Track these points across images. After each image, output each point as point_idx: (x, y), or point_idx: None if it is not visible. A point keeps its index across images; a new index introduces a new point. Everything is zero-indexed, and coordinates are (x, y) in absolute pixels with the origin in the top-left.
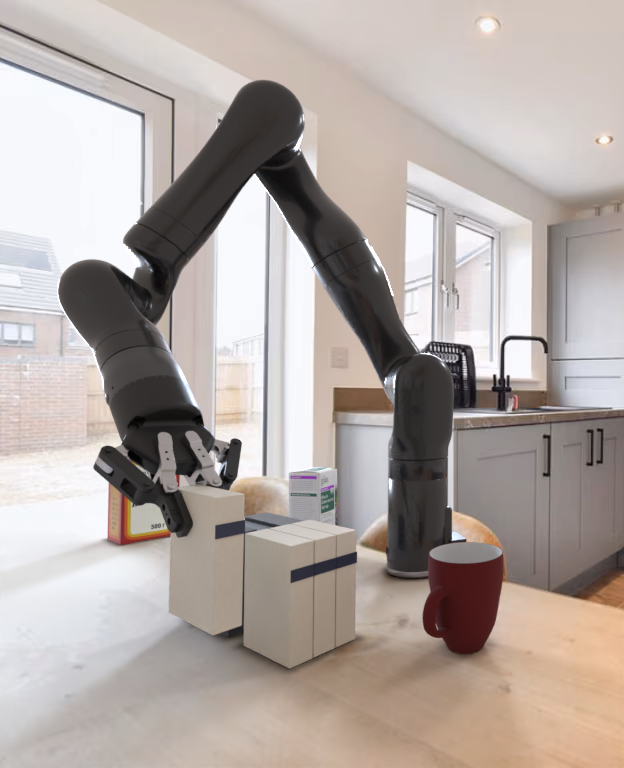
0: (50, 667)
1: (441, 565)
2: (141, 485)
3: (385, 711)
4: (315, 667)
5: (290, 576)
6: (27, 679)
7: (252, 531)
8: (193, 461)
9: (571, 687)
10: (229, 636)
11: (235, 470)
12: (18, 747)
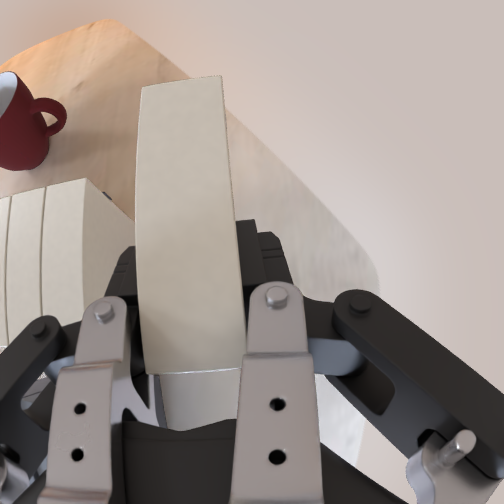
0: (329, 442)
1: (17, 94)
2: (377, 302)
3: None
4: (129, 217)
5: (107, 197)
6: (350, 427)
7: None
8: (131, 428)
9: (62, 67)
10: (157, 375)
11: (17, 343)
12: (375, 283)
